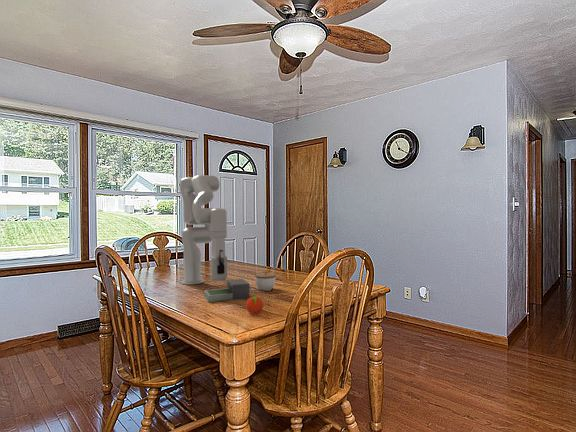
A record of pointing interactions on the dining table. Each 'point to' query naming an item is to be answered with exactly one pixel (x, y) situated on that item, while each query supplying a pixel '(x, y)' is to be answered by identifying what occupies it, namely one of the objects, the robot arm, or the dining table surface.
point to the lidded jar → (265, 281)
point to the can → (214, 269)
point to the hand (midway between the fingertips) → (219, 272)
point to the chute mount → (229, 291)
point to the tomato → (254, 305)
